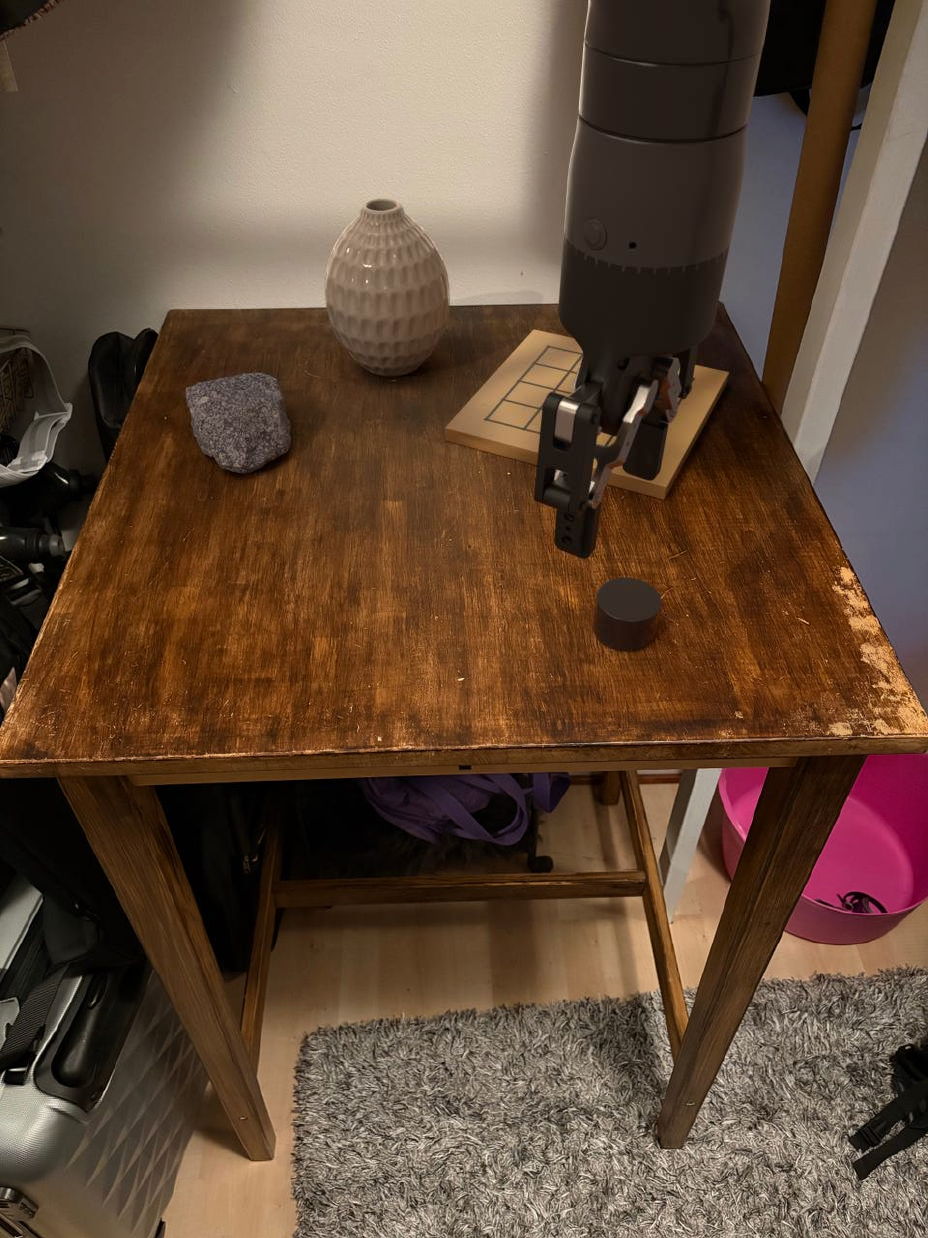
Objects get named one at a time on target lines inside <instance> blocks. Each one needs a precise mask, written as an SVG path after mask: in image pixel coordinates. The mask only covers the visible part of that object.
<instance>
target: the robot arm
mask: <svg viewBox="0 0 928 1238" xmlns="http://www.w3.org/2000/svg"><path fill="white" fill-rule="evenodd" d="M587 3H588V5H587V11H586V12H587V13H586V21H585V28H584V36H583V37H584V39H583V48H582V61H581V62H582V63H581V75H580V88H579V101H578V102H579V103H578V114H577V121H576V129H575V134H574V140H573V145H572V148H571V154H570V158H569V164H568V171H567V172H568V173H567V183H566V196H565V197H566V198H565V212H564V225H563V237H562V251H561V265H560V277H559V278H560V279H559V294H558V305H557V306H558V307H557V312H558V318H559V321H560V324H561V325H562V327H563V329H564V330H565V331H566V332H567V334H569V335H570V337H571V338H574V339H575V340H576V342H577V343H578V344H579V346H580V347H581V349H582V351H583V358H582V361H581V364H580V366H579V368H578V371H577V373H576V376H575V379H574V382H573V390H574V392H573V393H572V394H571V395H569V396H565V395H561V394H558V393H555V392H550V393H549V394H548V395H547V397H546V399H545V401H544V404H543V408H542V418H541V428H540V439H539V449H538V460H537V465H536V471H535V472H536V473H535V482H534V490H533V491H534V492H533V500H534V502H536V503H539V504H542V505H544V506H546V507H549V508H552V509H555V510H556V512H555V523H554V524H555V526H554V537H553V543H554V546H555V547H556V548H557V549H558V550H559V551H562V552H564V553H567V554H568V555H569V554H570V555H572V556H574V557H576V558H579V559H582V560H586V559H589V557H590V556H591V555H592V554H593V553H594V552H595V550H596V548H597V542H598V541H597V540H598V532H599V525H600V517H601V510H602V500H603V497H604V493H605V490H606V489H607V486H608V484H607V482H608V480H609V477H610V474H611V472H612V470H613V468H615V467H619V466H621V465H622V468H623V470H624V471H625V472H626V473H628V474H630V475H633V476H636V477H639V478H642V479H645V480H648V481H652V480H654V479H655V478H656V476H657V475H658V474H659V473H660V470H661V465H662V459H663V454H664V448H665V442H666V437H667V431H668V426H669V424H666V422H668V423H671V422H672V421H673V419H674V418H675V417H676V415H677V412H678V402H677V398H681V399H686V398H687V396H688V394H690V392H691V389H692V380H693V375H694V369H695V365H696V363H697V357H698V350H699V344H700V343H701V342H703V341H704V340H705V339H706V338H707V337H708V335H710V333H711V331H712V330H713V327H714V325H715V320H716V317H717V311H718V306H719V301H720V295H721V291H722V286H723V282H724V277H725V273H726V267H727V266H726V265H727V262H728V258H729V252H730V248H731V247H730V246H731V242H732V236H733V231H734V227H735V221H736V217H737V213H738V212H737V211H738V208H739V203H740V198H741V193H742V187H743V186H742V185H743V180H744V171H745V157H746V142H747V135H748V134H747V133H748V127H749V119H750V114H751V110H752V105H753V100H754V99H753V98H754V94H755V89H756V85H757V79H758V74H759V70H760V69H759V68H760V63H761V59H762V53H763V49H764V45H765V39H766V34H767V29H768V22H769V18H770V17H769V15H770V7H771V0H588V1H587ZM679 369H680V371H679ZM678 371H679V376H678ZM601 432H602V433H605V434H608V435H611V436H615V437H616V440H615V441H614V443H613V444H611V445H609V446H603V445H600V444H597V443H596V442H597V436H599V435H600V433H601ZM594 458H595V459H596V461H597V466H596V469H595V472H594V474H593V477H592V470H593V463H594ZM556 469H557V470H556ZM591 477H592V480H591Z"/></svg>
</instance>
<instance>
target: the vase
mask: <svg viewBox="0 0 928 1238" xmlns="http://www.w3.org/2000/svg"><path fill="white" fill-rule="evenodd" d="M450 289H451V288H450V281H449V275H448V271H447V268H446V264H445V262H444V259H443V257H442V255H441V253H440V250H439V248H438V247H437V245H436V242H435V241H434V240H433V239H432V237H431V236H430V235H429V233H428V232H427V230H426V229H425V228H424V227H422V225H421V224H420V223H419V222H418V221H416V220H415V219H414V218H413V217H411V215H409V214H407V212H406V211H405V208H404V206H403V204H402V203H401V202H400V201H398V200H396V199H394V198H387V197H386V198H385V197H380V198H372V199H369V200H366V201H365V202H363V203H362V204H361V206H360V210H359V213H358V214H357V216H356V217H355V218H354V219H352V221H351V222H350V223H349V224H348V225H347V226H346V227H345V228H344V230H343V231H342V232H341V233H340V234H339V237H338V239H337V241H336V242H335V243H334V246H333V248H332V250H331V253H330V256H329V258H328V261H327V265H326V271H325V276H324V299H325V309H326V312H327V318H328V322H329V324H330V326H331V329H332V331H333V334H334V336H335V337H336V339H337V340H338V342H339V343H340V345H341V347H342V348H343V349H344V350H345V352H346V353H347V355H348V356H350V358H351V359H352V360H353V361H354V362H355V363H357V364H358V365H359V366H361V367H362V368H363V369H364V370H366V371H367V373H370V374H372V375H375V376H379V377H386V378H396V377H402V376H406V375H409V374H411V373H413V372H415V371H416V370H418V369H419V368H420V367H421V366H422V365H423V364H425V362H426V361H427V360H428V359H429V358H430V356H432V354H433V353H434V352H435V350H436V348H437V346H438V345H439V343H440V340H441V339H442V337H443V335H444V333H445V330H446V327H447V324H448V319H449V315H450V304H451V294H450V293H451V291H450Z"/></svg>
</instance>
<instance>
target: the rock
mask: <svg viewBox="0 0 928 1238" xmlns="http://www.w3.org/2000/svg"><path fill="white" fill-rule="evenodd" d="M185 400H186V405H187V407H188V409H189V412H190V416H191V422H190V424H191V429H192V435H193V437H195V440H196V441H197V445H198V446H199V448H200V449H201V451H202V453H203V454H204V455H207V456H208V457H210V458H214V460H215V462H216V463H217V464H218V466H219V468H221V469H223V470H227V471H230V472H233V473H238V474H247V473H253V472H256V471H257V470H259V469H261V468H263V467H265V465H266V464H267V463H269V462H271V461H275V460H276V459H277V458H279V457H281V456H282V455H285V454H286V453H287V452H288V451H289V449H290V447H291V443H292V438H291V426H292V425H291V421H290V419H289V417H288V415H287V413H286V406H285V397H284V394H283V392H282V387H281V385H280V383H279V380H278V379H277V378H276V377H274V376H271V375H270V374H266V373H263V372H253V373H251V372H250V373H240V374H236V375H233V376H224V377H220V378H217V379H213V380H206V381H199V382H197V383H196V384H194V385H192V386H188V387H185Z"/></svg>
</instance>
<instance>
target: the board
mask: <svg viewBox="0 0 928 1238" xmlns="http://www.w3.org/2000/svg"><path fill="white" fill-rule="evenodd" d="M582 358H583V351H582V349H581V347H580V346H579V344H578V343H577V342H576V340H575V339H574V338H573V337H572V336H565V335H562V334H557V333H552V332H547V331H543V330H539V329H538V330H537V329H533V330H531V332H530V333H529V334H528V335H527V336H526V337H525V338H524V339H523V340H522V342H521V343H519V345H518V346H517V347H516V348H515V349H514V351H513V352H512V353H510V355H509V356H508V357H507V358H506V359H505V361H504V362H503V363H502V364H501V365H500V366H499V367H498V368H497V370H495V371H494V372H493V374H491V376H490V377H489V378H488V379H487V381H485V382H484V384H483V385H482V386H481V387H480V388H479V389H478V390H477V392H476V393H475V394H473V396H472V397H471V398H470V399H469V400H468V401H467V403H466V404H465V405H464V406H463V407H462V408H461V409H459V411H458V413H457V414H455V416H454V417H453V418H452V419H451V420H450V421H449V422H448V424H447V425H446V426H444V441H446V442H449V443H453V444H456V445H460V446H464V447H467V448H471V449H475V450H479V451H482V452H486V453H490V454H493V455H497V456H499V457H500V456H501V457H505V458H507V459H512V460H515V461H519V462H523V463H528V464H531V465H533V466H537V460H538V449H539V439H540V428H541V418H542V408H543V404H544V401H545V399H546V397H547V395H548V394H549V393H550V392H555V393H558V394H561V395H565V396H569V395H571V394H572V393H573V392H574V390H573V382H574V379H575V376H576V373H577V371H578V368H579V366H580V364H581V361H582ZM679 371H680V369H679ZM679 371H678V376H679ZM729 376H730V372H729V371H725V370H720V369H716V368H711V367H708V366H702V365H697V364H695V369H694V375H693V380H692V389H691V392H690V394H688V396H687V398H686V399H681V398H677V402H678V412H677V415H676V417H675V418H674V419H673V421H672V422H671V423H668V422H666V424H669V426H668V431H667V437H666V442H665V448H664V454H663V459H662V465H661V470H660V473H659V474H658V475H657V476H656V478H655V479H654V480H652V481H648V480H645V479H642V478H639V477H636V476H633V475H630V474H628V473H626V472H625V471H624V470H623V468H622V465H621V466H619V467H615V468H613V470H612V472H611V474H610V477H609V480H608V482H607V486H608V485H609V486H612V487H616V488H620V489H623V490H626V491H630V492H633V493H638V494H641V495H645V496H649V497H653V498H656V499H659V500H663V501H664V500H665V499H666V498H667V496H668V494H669V492H670V490H671V489H672V486H673V485H674V483H675V481H676V479H677V478H678V476H679V474H680V472H681V470H682V468H683V466H684V465H685V462H686V461H687V459H688V457H689V455H690V454H691V451H692V449H693V448H694V446H695V444H696V442H697V440H698V438H699V437H700V435H701V433H702V431H703V429H704V427H705V425H706V424H707V422H708V420H709V418H710V416H711V414H712V413H713V410H714V409H715V408H716V405H717V404H718V401H719V399H720V397H721V396H722V394H723V392H724V391H725V388H726V387H727V385H728V379H729ZM615 440H616V437H615V436H611V435H608V434H605V433H602V432H601V433H600V435H599V436H597V442H596V443H597V444H600V445H603V446H609V445H611V444H613V443H614V441H615ZM596 466H597V461H596V459H595V458H594V463H593V470H592V477H593V474H594V472H595V469H596ZM556 470H557V469H556ZM556 470H555V471H556ZM592 477H591V480H592Z"/></svg>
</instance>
